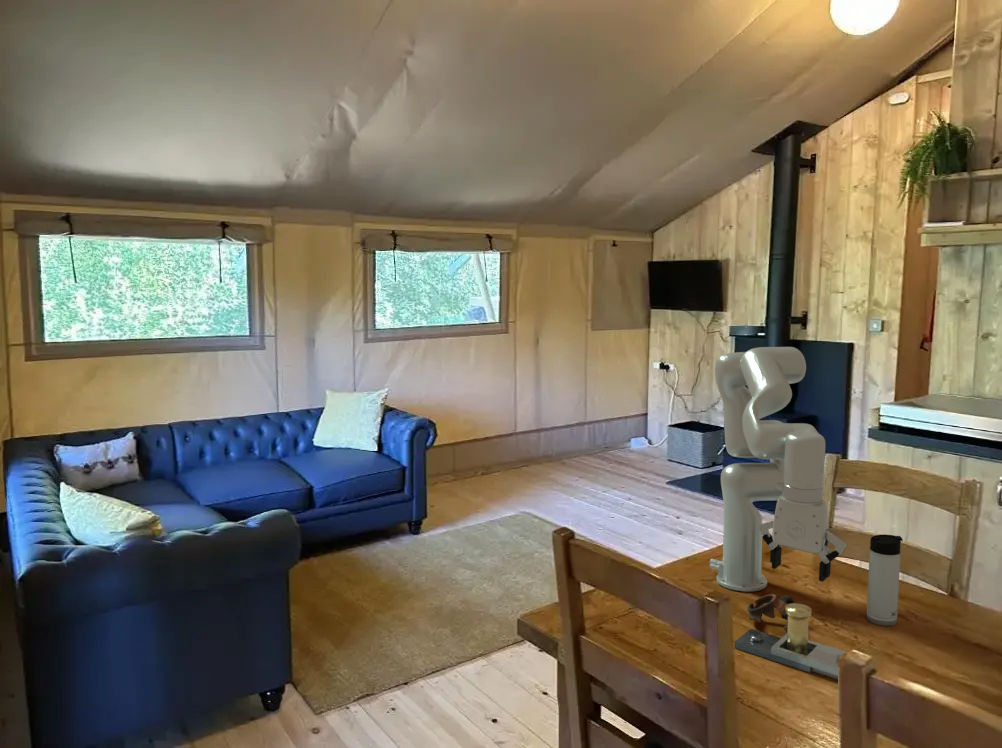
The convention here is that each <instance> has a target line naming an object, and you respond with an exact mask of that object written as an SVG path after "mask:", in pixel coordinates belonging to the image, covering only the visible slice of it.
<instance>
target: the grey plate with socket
mask: <svg viewBox="0 0 1002 748" xmlns="http://www.w3.org/2000/svg"><path fill="white" fill-rule="evenodd" d="M734 647H735V648H734V649H736V648H737V650H739V651H742V650H743V652H746V653H749V654H751V655H755V656H758V657H760V658H763V659H766V660H769V661H773V662H775V663H778V664H782V665H784V666H788V667H790V668H794V669H796V670H799V671H803V672H806V673H808V674H811V673H812V672H813V673H816V674H820V675H822V676H825V677H828V678H832V679H835V680H838V661H839V658H840V657H841V656H842V655H843V654H844V653H846V652H847V651H846V650H842V649H840V648H836V647H833V646H829V645H826V644H822V643H818V642H815V641H813V640H809V639H808V655H807V656H805V655H802V654H799V653H796V652H793V651H790V650H787V634H786V633H785V635H783V636H782V637H780V636H779V637H778V636H777V635H776V636H775V635H772V634H769V633H766V632H762V631H759V630H757V629H753V628H750V629H748V630H747V631H746V632H745V633H743V635H741V636H740V637H738V638H737V640H735V641H734Z"/></svg>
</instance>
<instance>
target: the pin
mask: <svg viewBox="0 0 1002 748" xmlns="http://www.w3.org/2000/svg"><path fill="white" fill-rule="evenodd" d="M786 614H788V620H787V624H788V632H787V650H790V651H793V652H796V653H799V654H802V655H805V656H807V655H808V640H809V626H810V625H809V624H810V623H809V620H810V619H809V618H811V617H812V608H811V607H810V606H809V605H806V604H804V603H803V604H802V603H797V602H795V603H791V604H788V605H786Z"/></svg>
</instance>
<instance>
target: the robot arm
mask: <svg viewBox="0 0 1002 748" xmlns="http://www.w3.org/2000/svg"><path fill="white" fill-rule="evenodd" d="M806 372H807V363H806V359H805V356H804V354H803V353H802V351H801V350H799V349H798V348H796V347H794V346H762V347H761V346H760V347H754V348H751V349H749V350H747V351H740V352H739V351H737V352H736V351H735V352H729V353H725V354H722V355H721V356H719V357H718V358H717V360H716V361H715V366H714V377H715V381H716V386H717V388H718V392H719V395H720V397H721V400H722V407H723V424H724V425H723V426H724V429H723V430H724V443H725V449H726V452H727V453H728V455H730V456H731V457H735V458H743V459H744V458H749V459H750V458H751V459H752V458H757V459H759V460H769V461H770V462H736V463H732V464H728V465H727V466H724V468H722V471H721V473H720V486H721V493H722V500H723V501H722V502H723V534H722V535H723V537H722V538H723V544H722V545H723V548H722V560H718V559H715V558H710V560H709V568H710V569H712V570H716V571H717V572H718V573H717V574H716V582H717V583H718V584H719V585H720V586H721V587H723V588H726V589H728V590H733V591H738V592H748V593H749V592H757V591H758V592H759V591H762V590H764V589H765V588H766V587H768V579H767V578H766V577H765V575H763V574H762V561H763V560H762V554H763V553H762V552H763V541H764V542H765V543H766V545H767V547H768V549H769V550H770V552H769V554H770V556H769V562H770V563H771V569H773V570H775V569H777V568H779V567H780V566H781V565H782V547H781V546H783V547H785V548H789V549H793V550H797V551H802V552H806V553H810V554H811V553H812V554H817V556H818V557H819V558H820V560H821V561H820V562H819V568H818V569H819V571H818V581H820V582H822V583H824V581H826V579H827V578H829V577H830V575H831V565H832V561H833V560H834V559H836V558H838V557H839V556H840V555H841V554H842V552H843V551H844V549H845V548H846V546H847V544H846V542H844V541H843V540H842V539H840V538H839V537H837V536H836V535H835V534H834V533H832V532H831V531H830V525H829V523H830V521H829V512H828V507H827V506H828V505H827V502H826V500H824V484H825V483H824V481H825V480H824V479H825V463H826V462H825V459H826V439H825V438H824V436H823V435H822V434H820V433H819V432H818V431H817V429H816V428H815V426H813V425H812V424H809V423H804V422H803V423H802V422H800V423H799V422H798V423H797V422H796V423H787V422H782V421H780V420H775V419H773V420H772V419H771V420H770V419H769V420H768V419H767V420H763V418H765V417H767V416H770V415H772V414H775V413H777V412H779V411H781V410H783V409H784V408H785V407H787V405H788V404H789V403H790V402H791V399H792V397H793V391H792V388H791V384H796V383H799V382H801V381H802V380H803V379H804V377H805V376H806ZM746 386H747V387H746ZM761 419H762V420H761ZM759 501H761V502H762V501H776V505H775V510H774V517H773V520H772V521H767V522H765V523H763V516H762V514H761V512H760V511H759V510H758V509H757V508H756V506H755V505H754V504H753V502H759ZM769 529H772V534H771V533H770V530H769ZM829 543H831V544H832V545H833V546H834V549H833V550H832V551H830V549H829V548H828V546H829Z"/></svg>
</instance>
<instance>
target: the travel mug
mask: <svg viewBox="0 0 1002 748" xmlns="http://www.w3.org/2000/svg"><path fill="white" fill-rule="evenodd" d="M902 542H903V537H902V536H900V535H893V534H876V535H873V536H871V537H870V540H869V545H870V546H869V554H868V555H869V556H868V579H867V600H866V602H867V604H866V619H867V620H868V621H869V622H871V623H872V624H875V625H878V626H883V627H891V626H895V625H896V624H898V608H899V592H900V591H899V589H900V588H899V585H900V570H901V569H900V567H901V566H900V565H901V546H902V545H901V543H902Z"/></svg>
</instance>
